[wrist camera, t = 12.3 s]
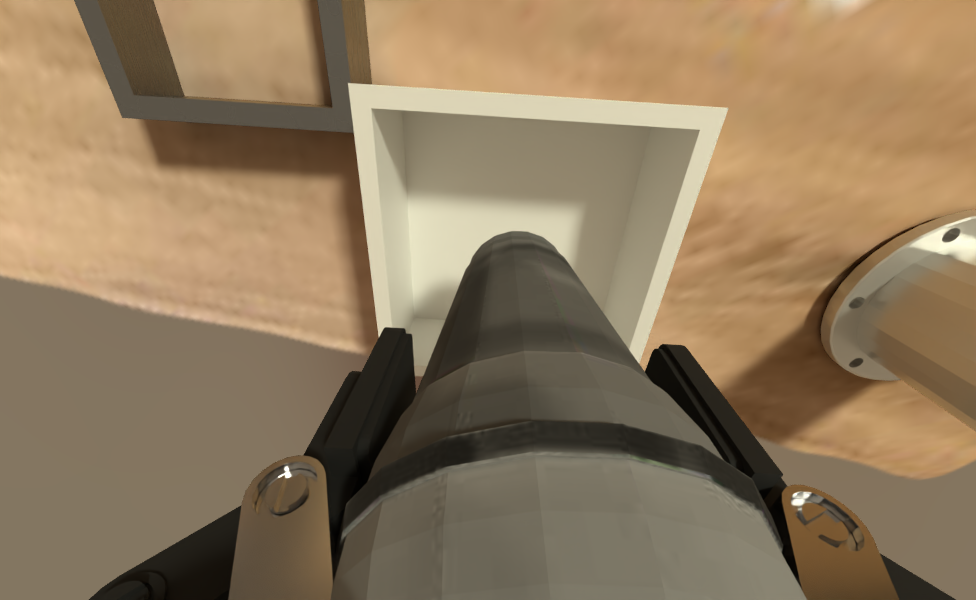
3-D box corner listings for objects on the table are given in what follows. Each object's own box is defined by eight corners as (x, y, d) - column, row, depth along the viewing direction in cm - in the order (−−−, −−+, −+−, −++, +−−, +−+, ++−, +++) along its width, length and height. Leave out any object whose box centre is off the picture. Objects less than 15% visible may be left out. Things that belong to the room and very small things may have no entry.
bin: (664, 106, 19) (728, 107, 13) (603, 331, 26) (629, 389, 21) (390, 88, 19) (347, 83, 13) (406, 318, 26) (383, 374, 21)
